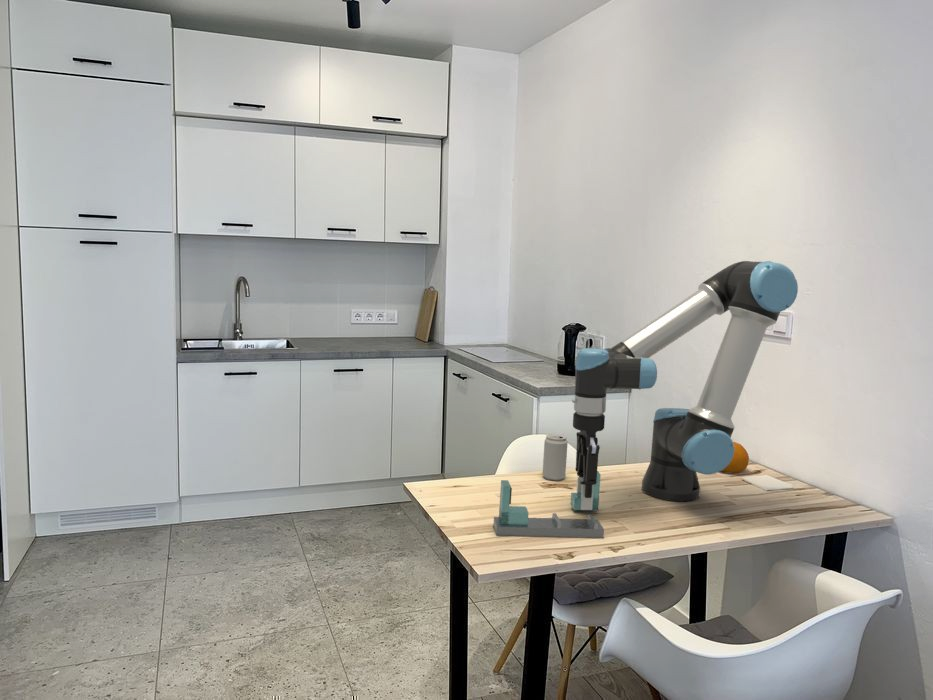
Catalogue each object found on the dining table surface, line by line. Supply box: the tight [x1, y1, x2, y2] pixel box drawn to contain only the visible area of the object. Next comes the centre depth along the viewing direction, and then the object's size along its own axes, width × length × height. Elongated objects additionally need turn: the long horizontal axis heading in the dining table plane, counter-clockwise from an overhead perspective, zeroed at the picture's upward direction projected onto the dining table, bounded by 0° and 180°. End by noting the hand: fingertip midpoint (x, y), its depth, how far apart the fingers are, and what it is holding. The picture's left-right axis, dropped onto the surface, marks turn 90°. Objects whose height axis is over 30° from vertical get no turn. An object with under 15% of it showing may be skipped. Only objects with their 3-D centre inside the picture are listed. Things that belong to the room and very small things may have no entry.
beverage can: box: [542, 433, 569, 482], centre depth 203 cm, size 6×6×12 cm
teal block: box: [570, 470, 602, 511], centre depth 178 cm, size 6×4×9 cm, turn 94°
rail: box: [492, 479, 605, 539], centre depth 163 cm, size 24×6×11 cm, turn 94°
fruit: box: [720, 441, 750, 474], centre depth 220 cm, size 12×12×10 cm
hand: (584, 505), depth 178 cm, fingers closed on teal block, 4 cm apart
